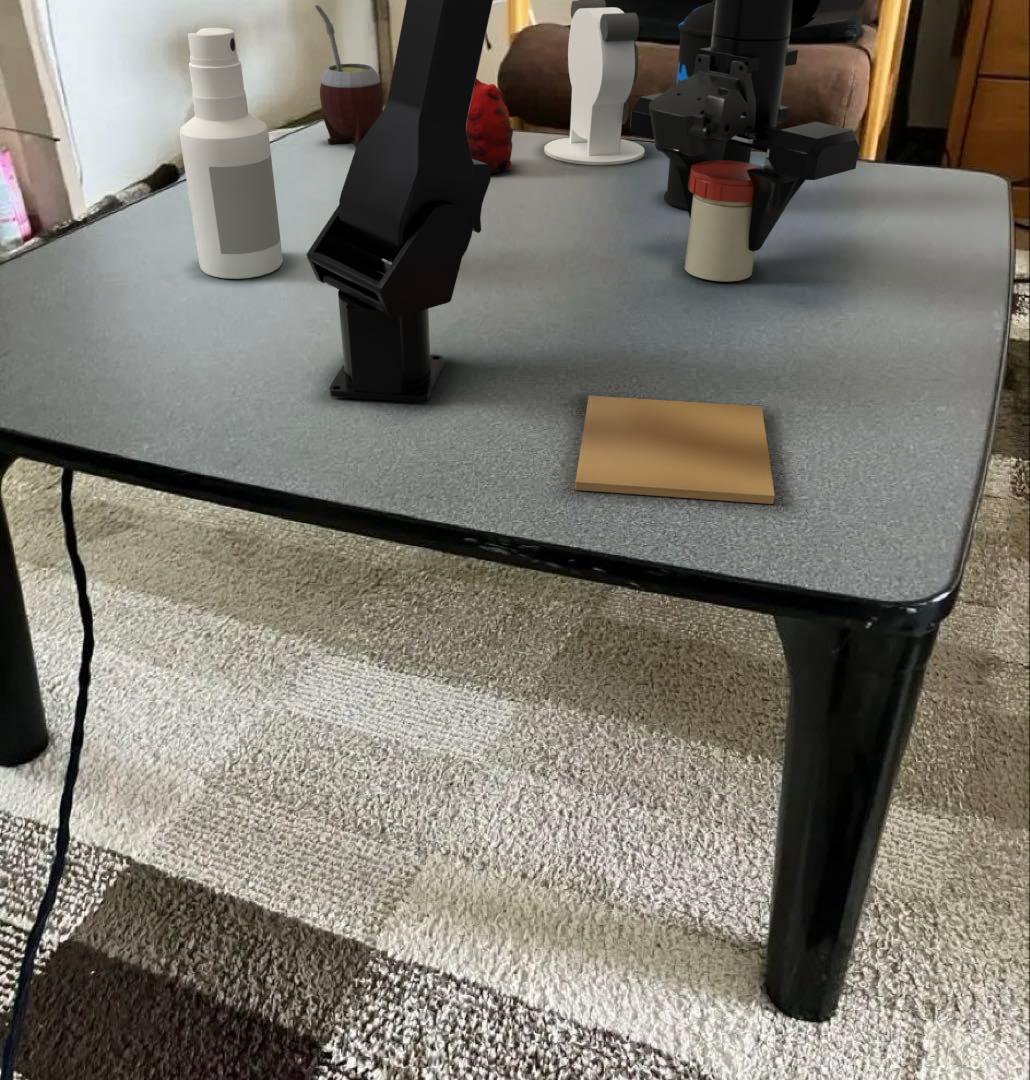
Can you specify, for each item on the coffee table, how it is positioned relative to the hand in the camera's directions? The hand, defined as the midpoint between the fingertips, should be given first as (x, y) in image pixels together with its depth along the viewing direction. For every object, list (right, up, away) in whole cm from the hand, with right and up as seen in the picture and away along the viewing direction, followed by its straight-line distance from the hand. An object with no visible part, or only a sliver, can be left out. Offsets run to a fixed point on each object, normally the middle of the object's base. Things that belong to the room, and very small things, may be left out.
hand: (725, 240), depth 90 cm
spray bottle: (-40, -2, +1) cm, 40 cm away
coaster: (-8, -19, -25) cm, 32 cm away
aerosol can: (+2, +9, +18) cm, 20 cm away
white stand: (-8, +19, +33) cm, 39 cm away
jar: (0, -2, +1) cm, 2 cm away
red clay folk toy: (-21, +15, +27) cm, 38 cm away
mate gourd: (-36, +21, +36) cm, 55 cm away
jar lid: (0, +4, -3) cm, 5 cm away
